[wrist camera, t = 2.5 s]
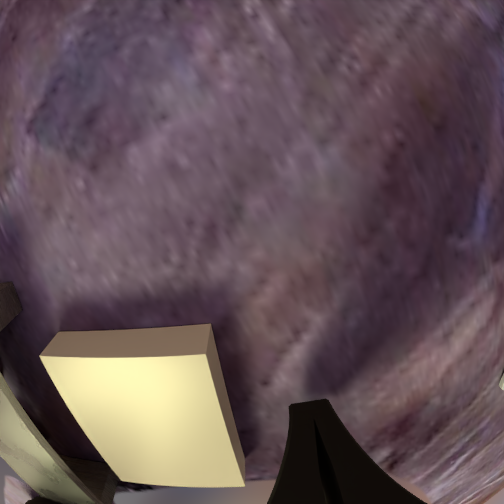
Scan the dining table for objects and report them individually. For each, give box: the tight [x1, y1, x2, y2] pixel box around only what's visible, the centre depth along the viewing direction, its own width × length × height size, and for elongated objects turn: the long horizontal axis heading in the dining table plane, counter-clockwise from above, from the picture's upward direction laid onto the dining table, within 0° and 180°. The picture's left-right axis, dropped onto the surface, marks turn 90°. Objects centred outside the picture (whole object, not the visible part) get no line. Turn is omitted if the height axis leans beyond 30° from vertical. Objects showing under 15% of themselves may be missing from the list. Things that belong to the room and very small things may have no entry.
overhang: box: [0, 282, 119, 504], centre depth 10 cm, size 5×12×3 cm, turn 7°
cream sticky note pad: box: [39, 324, 245, 487], centre depth 11 cm, size 6×8×2 cm
